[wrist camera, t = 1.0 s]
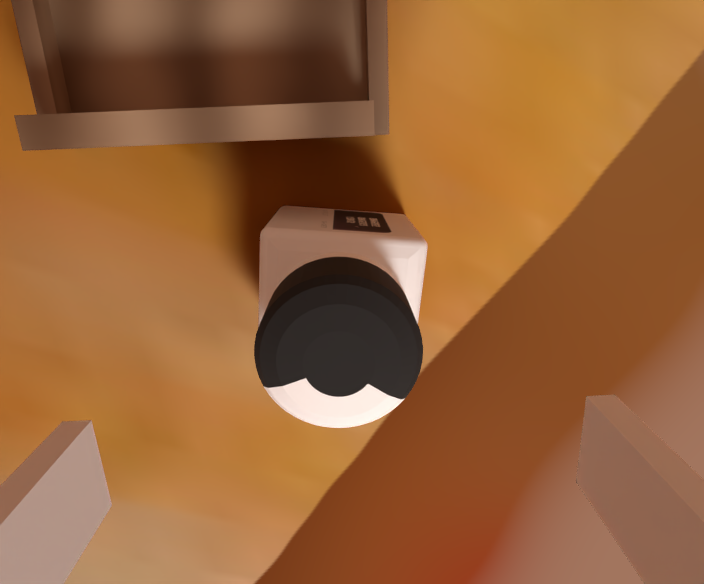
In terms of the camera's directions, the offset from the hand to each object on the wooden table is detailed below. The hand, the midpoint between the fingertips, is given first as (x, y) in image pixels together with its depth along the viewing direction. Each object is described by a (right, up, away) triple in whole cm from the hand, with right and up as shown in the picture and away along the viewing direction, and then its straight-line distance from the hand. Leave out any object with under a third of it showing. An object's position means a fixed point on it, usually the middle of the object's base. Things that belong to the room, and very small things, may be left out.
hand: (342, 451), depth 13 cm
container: (-1, +6, +18) cm, 18 cm away
